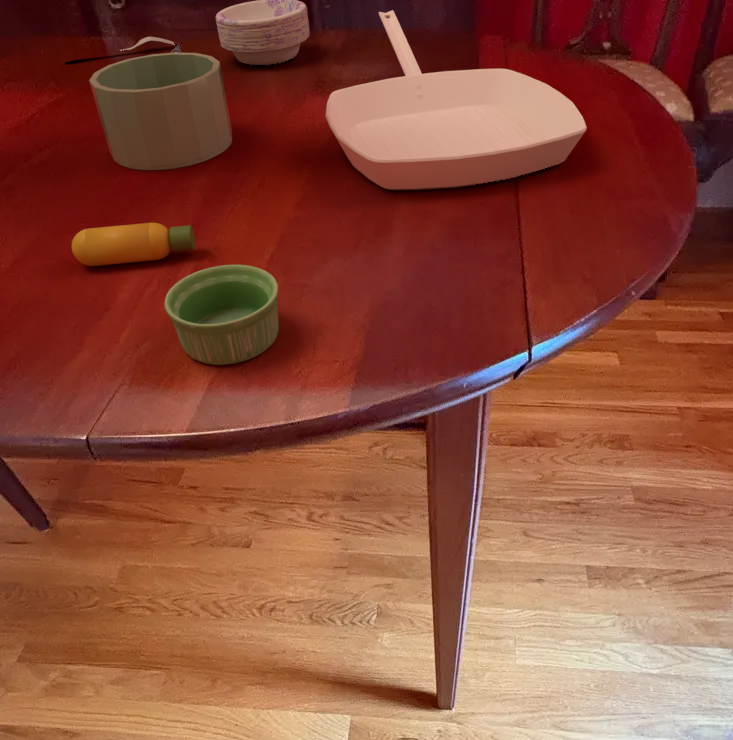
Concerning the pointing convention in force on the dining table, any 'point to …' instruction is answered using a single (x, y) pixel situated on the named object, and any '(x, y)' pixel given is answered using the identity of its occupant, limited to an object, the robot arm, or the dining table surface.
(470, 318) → the dining table surface
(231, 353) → the ramekin
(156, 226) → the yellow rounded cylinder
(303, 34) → the paper bowls
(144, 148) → the pot
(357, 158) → the pan
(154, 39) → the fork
